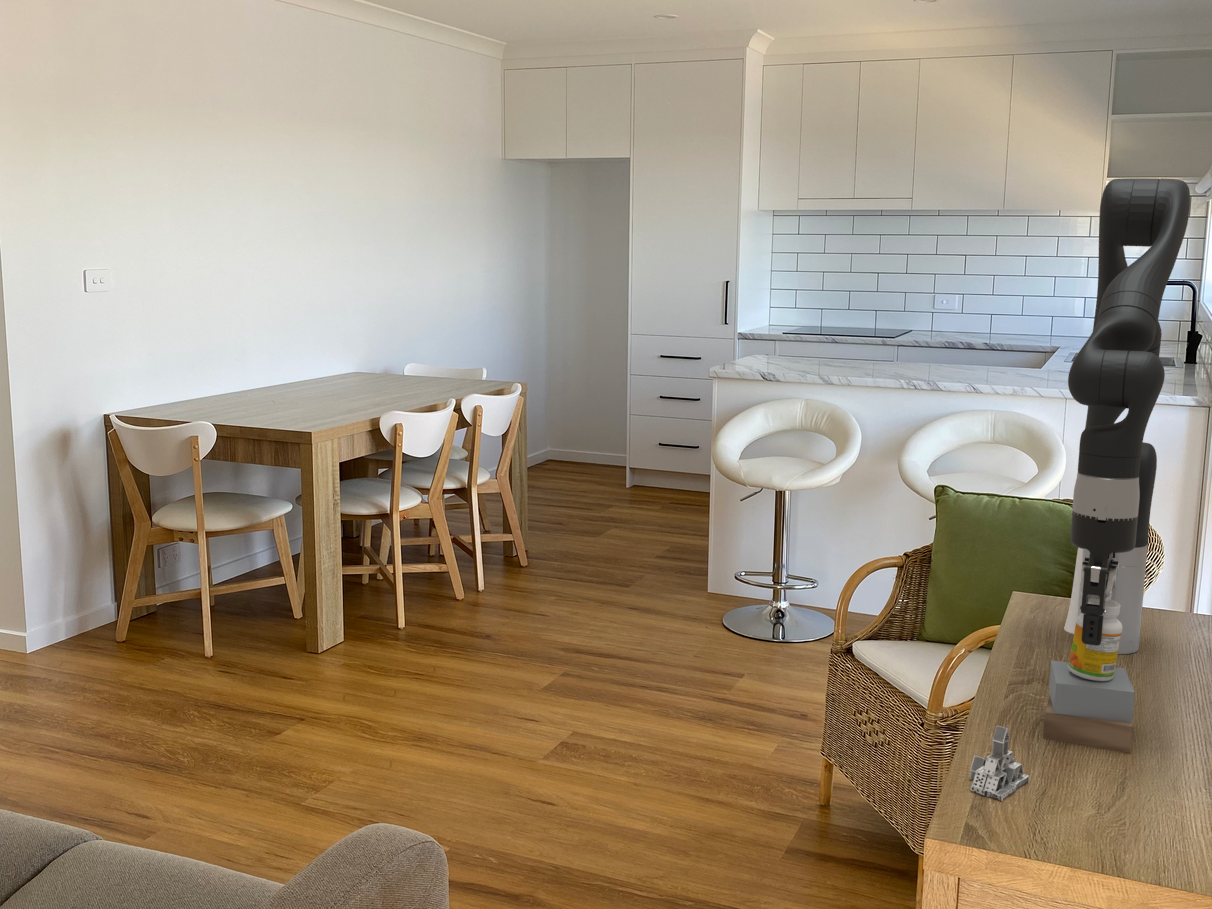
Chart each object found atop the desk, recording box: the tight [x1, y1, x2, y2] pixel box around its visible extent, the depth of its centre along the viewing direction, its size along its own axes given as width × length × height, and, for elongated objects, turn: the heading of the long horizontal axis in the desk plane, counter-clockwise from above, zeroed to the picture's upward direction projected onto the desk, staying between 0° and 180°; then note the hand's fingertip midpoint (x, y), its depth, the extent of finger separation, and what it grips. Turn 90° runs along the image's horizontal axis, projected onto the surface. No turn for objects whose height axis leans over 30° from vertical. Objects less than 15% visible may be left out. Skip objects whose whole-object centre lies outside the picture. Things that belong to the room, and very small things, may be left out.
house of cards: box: [969, 724, 1030, 802], centre depth 127 cm, size 9×9×8 cm
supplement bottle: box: [1068, 598, 1122, 681], centre depth 139 cm, size 5×5×10 cm
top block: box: [1048, 660, 1136, 723], centre depth 141 cm, size 9×9×4 cm
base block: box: [1042, 695, 1135, 755], centre depth 141 cm, size 10×10×4 cm
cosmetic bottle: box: [1063, 547, 1083, 635], centre depth 182 cm, size 6×6×22 cm
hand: (1094, 634), depth 140 cm, fingers open, 8 cm apart
